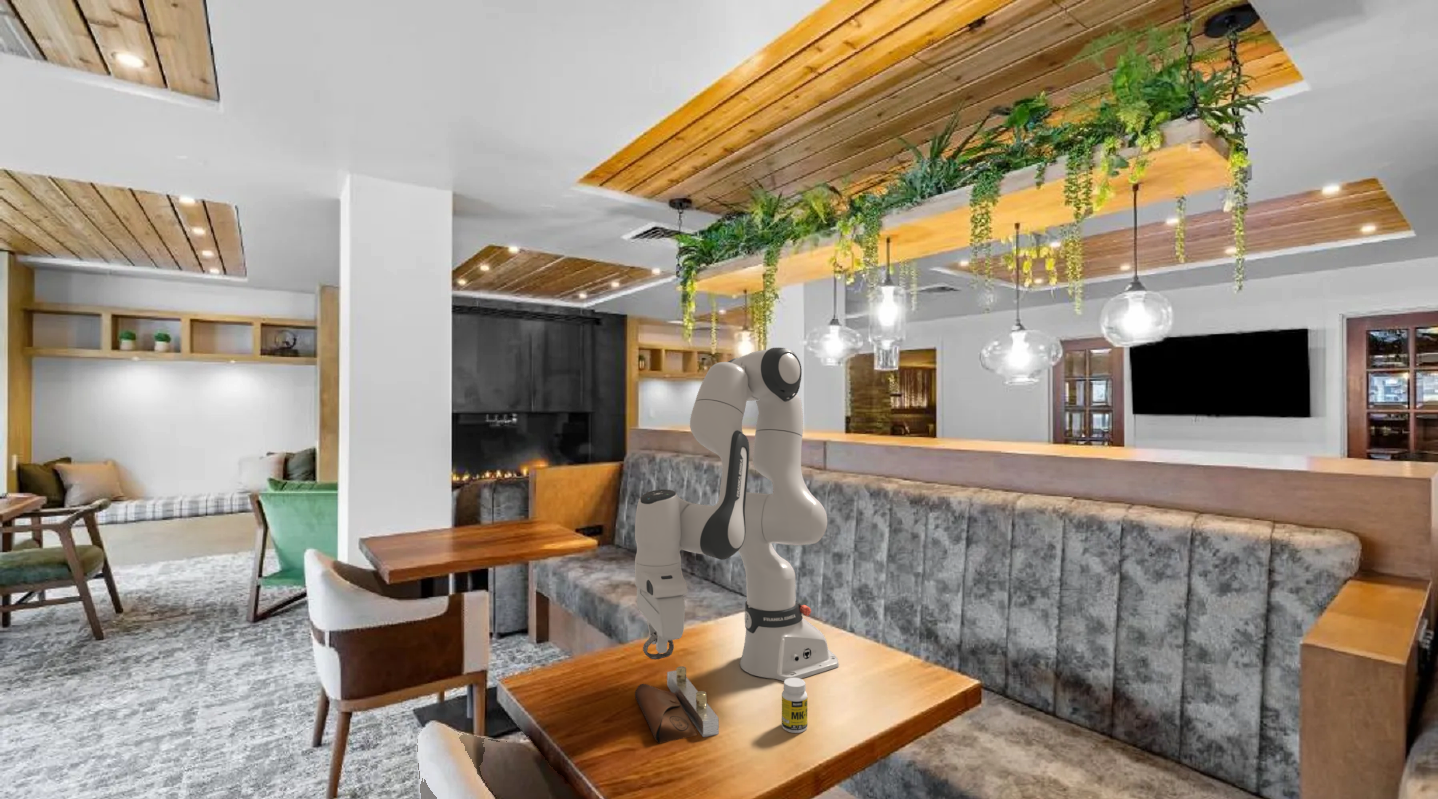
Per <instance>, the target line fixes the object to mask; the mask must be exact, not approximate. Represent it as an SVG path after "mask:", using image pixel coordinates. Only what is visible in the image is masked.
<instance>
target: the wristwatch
mask: <svg viewBox="0 0 1438 799" xmlns="http://www.w3.org/2000/svg"><path fill="white" fill-rule="evenodd" d="M657 637H658V635H657V632H656V631H655V632H653V634H652V635H651V637H650V638H649V637H648V639H647V640H646V641H645V642H644V643H643V646H642V651H643V653H644V655H645V656H646V657H648V658H649V659H650V660H660V659H661V660H662V659H664V658H668V657H670V656H671V655H672V654H673V652H674V649H675V646H674V641H673V640H668V648H667V652H665V653H658V652H657V653H650V652H648V649H649V647H650V646H651V645H652V642H653V641H654V640H655V639H656V638H657Z"/></svg>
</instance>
